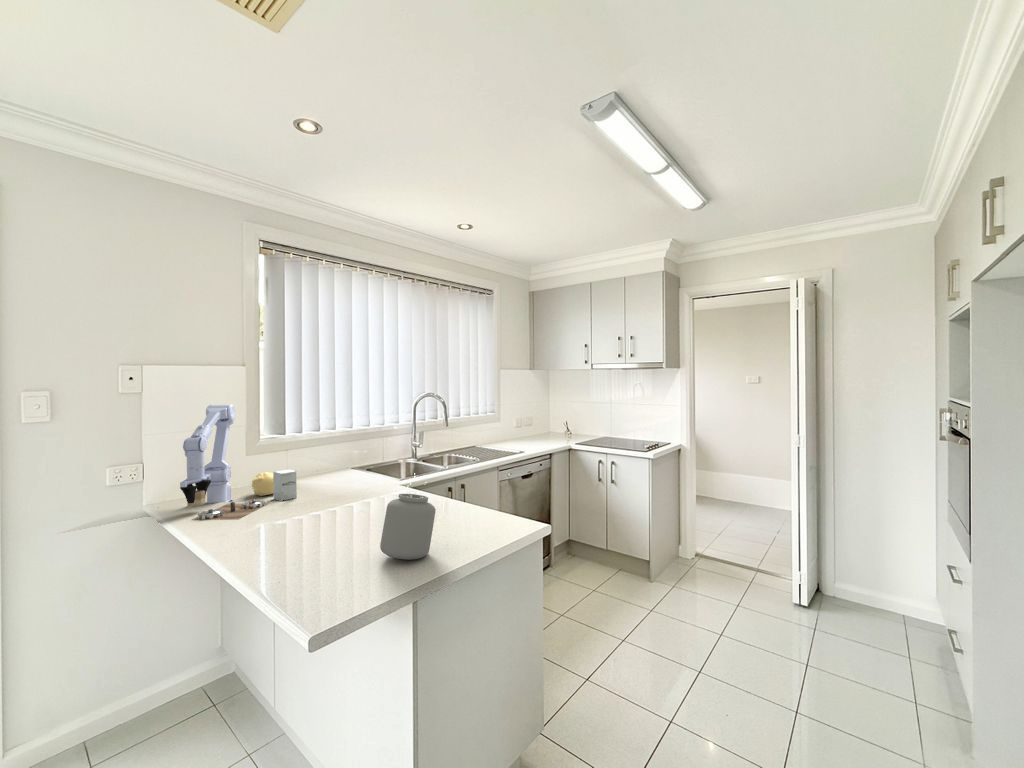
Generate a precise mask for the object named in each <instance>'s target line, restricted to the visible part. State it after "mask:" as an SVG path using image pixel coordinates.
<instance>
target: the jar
mask: <svg viewBox="0 0 1024 768" xmlns="http://www.w3.org/2000/svg"><path fill="white" fill-rule="evenodd" d="M413 478H416V473H415V472H414V475H413ZM416 483H419V481H417V482H416ZM426 483H428V482H427V481H425V484H426ZM409 485H412V482H411V483H409ZM409 485H407V490H408V489H409ZM403 492H406V490H404V491H403ZM397 496H398V497H397ZM396 497H397V498H395V499H392V500H391V501H389V502H388V503H387V506H386V509H385V516H384V520H383V527H382V532H381V538H380V543H379V545H380V546H379V549H380V550H381V552H382V553H383V554H384V555H386V556H388V557H390V558H392V559H393V558H394V559H400V560H420V559H422V558H424V557H425V556H427V555H428V554H429V553H430V549H431V548H430V547H431V543H432V539H433V538H434V537H433V530H434V524H435V523H434V522H435V517H436V507H435V506H434V505H433V504H432V503H430V502H429V497H428V496H425V495H421V494H417V493H415V494H414V493H399V494H398V495H396ZM436 535H437V534H435V536H436Z"/></svg>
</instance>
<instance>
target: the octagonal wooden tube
mask: <svg viewBox="0 0 1024 768" xmlns="http://www.w3.org/2000/svg"><path fill="white" fill-rule="evenodd" d="M186 503H187V504H186V505H187V507H198V506H202V505H204V504H206V495H205V491H204V490H197V489H196V492H195V500H194V503H188V502H187V501H186Z"/></svg>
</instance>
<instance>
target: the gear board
mask: <svg viewBox="0 0 1024 768" xmlns="http://www.w3.org/2000/svg"><path fill="white" fill-rule="evenodd" d="M269 504H271V503H270V502H268V503H267V502H265V505H264V506H262V507H257V508H255V509H253V508H250V509H246V508H245V509H242V503H236V501H231V502H229V503H227V504H224V505H222V506H220V507H217V508H215V509H214V510H216V509H219V510H223V511H224V515H222V516H220V517H218V518H217V517H215V518H213V519H210V518H209V519H205V520H204V521H224V520H225V521H227V520H228V521H230V520H232V521H233V520H234V521H236V520H240V519H242V518H244V517H246V516H248V515H250V514H252V513H254V512H256V511H257V510H260V509H262V508H264V507H266V506H268V505H269ZM191 521H203V520H202V519H198V516H197V517H195V518H192V519H191Z"/></svg>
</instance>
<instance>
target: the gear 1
mask: <svg viewBox="0 0 1024 768" xmlns="http://www.w3.org/2000/svg"><path fill="white" fill-rule="evenodd" d="M215 509H216V510H215ZM215 509H212V508H210V509H208V510H204V511H201V512H198V513H197V517H198V519H202V520H201V521H206V520H205V519H209V518H210V519H213V518H215V517H217V518H218V517H220V516H222V515H224V511H223V510H219V509H217V508H215Z"/></svg>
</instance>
